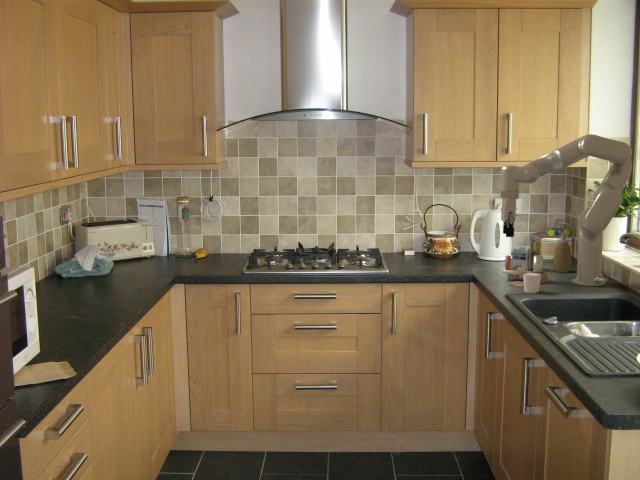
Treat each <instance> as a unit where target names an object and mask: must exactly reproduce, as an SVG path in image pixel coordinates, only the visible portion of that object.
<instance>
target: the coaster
mask: <svg viewBox="0 0 640 480" xmlns="http://www.w3.org/2000/svg"><path fill="white" fill-rule="evenodd" d="M509 285H510V286H512V287H516V288H524V281H520V280H519V281H510V283H509Z"/></svg>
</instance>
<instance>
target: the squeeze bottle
mask: <svg viewBox="0 0 640 480" xmlns="http://www.w3.org/2000/svg"><path fill="white" fill-rule="evenodd" d="M569 242H570V241H569V240H568V239H567V235H566V232H564V231H563V232H561V237H560V239H558V240H557V244H556V245H555V248H554V254H553V255H554V256H553V268H554V271H555V272H556V273H561V274H562V273H563V274H564V273H565V274H566V273H569V272H570V270H571V267H572V264H573V263H572V248H571V245H569Z"/></svg>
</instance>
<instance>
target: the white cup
mask: <svg viewBox="0 0 640 480" xmlns="http://www.w3.org/2000/svg"><path fill="white" fill-rule="evenodd" d="M522 277H523V278H522V279H523V282H524V287H523V290H524V293H525V292H526V293H528V292H529V293H530V294H536V292H537V293H539V292H540V285H541V283H540V279H541V274H538V273H524V274H522Z"/></svg>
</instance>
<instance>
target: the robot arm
mask: <svg viewBox="0 0 640 480" xmlns="http://www.w3.org/2000/svg"><path fill="white" fill-rule="evenodd" d="M589 157H591V158H592V157H593V158H596V159H599V160H603V161H607V162H609V168H608V170H607V172H606V174H605V176H604V177H603V179H602V181H601V183H600V184H599V185H598V187H597V189H596V190H595V191H594V195H593V202H592V204H591V205H590V207H587V208H585V209H584V210H582V211H581V212H580V214H579V215H578V218H577V219H578V221H577V225H578V227H577V229H578V230H577V231H578V233H577V234H578V235H577V236H578V239H577V240H578V244H577V261H576V263H577V265H576V278H573V279H572V283H573V284H575V285H578V286H584V287H585V286H586V287H600V286H604V285H605V284H606V283H607V282H608V280H609V279H608V277H604V273H602V261H603V248H604V247H603V244H604V240H603V239H604V231H605V230H606V229H607V227H608V226H609V224H610V223H611V221H612V219H613V218H614V217H615V215H616V213H617V212H618V210H619V208H620V206H621V205H622V202H623V196H622V191H623V190H624V188H625V187H626V184H627V183H628V181H629V179H630V177H631V174H632V170H633V169H632V168H633V163H632V157H633V150H632V147H631V146H630V145H629V143H627V142H624V141H619V140H616V139H611V138H607V137H603V136H599V135H597V134H591V133H590V134H585V135H583V136H580V137H578V138H576V139H574V140H572V141H571V142H569V143H566V144H564V145H563V146H560V147H558V148H556V149H554V150H552V151H550V152H548V153H547V154H544V155H543V156H540V157H539V158H536V159H535V160H532V161H530V162H528V163H526V164H524V165H523V166H518V165H503V166H502V167H501V170H500V172H501V173H500V197H499V198H500V199H502V200H501V201H502V202H501V213H500V220H501V221H502V222H503V223H502V224H503V225H502V234H504V235H505V236H506V238H514V236H515V222H516V217H517V215H516V213H517V200H519V199H520V183H521V184H522V183H523V184H527V185H529V184H534V183H536V182H537V181H538V180H539V178H540V177H541V178H542V177H543V176H545V175H547V174H549V173H552V172H555V171H559V170H563V169H566V168H568V167H570V166H573V165H575V164H576V163H578V162H581V161H582V160H584V159H587V158H589Z"/></svg>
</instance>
